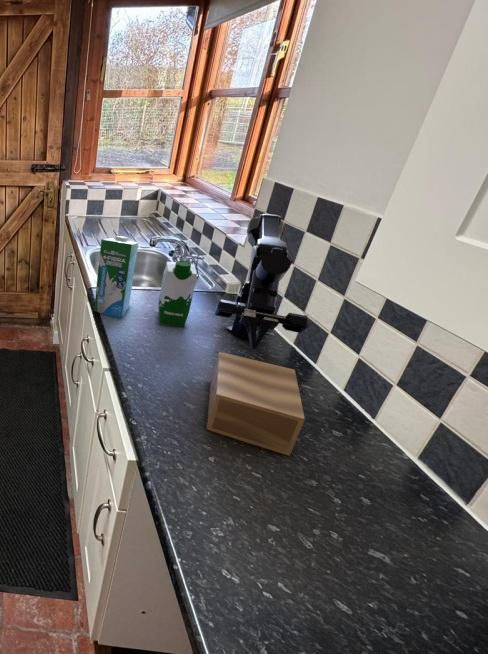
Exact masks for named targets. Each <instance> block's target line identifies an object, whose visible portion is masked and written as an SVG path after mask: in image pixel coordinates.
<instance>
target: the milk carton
mask: <svg viewBox="0 0 488 654" xmlns="http://www.w3.org/2000/svg"><path fill="white" fill-rule="evenodd" d="M129 239H130V238H129V237H128V236H123V235H115V238H114V237H108V238H102V239H100V248H99V259H98V267H97V278H96V287H95V295H94V298H95V299H94V304H93V306H94V307H93V312H94V313H95V312H96V313H99V314H104V315H108V316H111V317H114V318H119V319H122V318H123V317H124V315H125V313H126V312H127V310H128V309H129V307H130V303H131V296H132V289H133V282H134V275H135V269H136V262H137V261H136V260H137V255H138V254H137V253H138V247H139V241H138V242H136V241H132V240H129Z"/></svg>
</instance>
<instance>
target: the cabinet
mask: <svg viewBox="0 0 488 654" xmlns="http://www.w3.org/2000/svg"><path fill="white" fill-rule="evenodd" d="M305 418H306V417H305V414H304V409H303V403H302V398H301V394H300V389H299V384H298V379H297V374H296V370H295V369H293V368H290V367H285V366H282V365H281V366H280V365H276V364H273V363H268V362H264V361H260V360H256V359H252V358H247V357H244V356H243V357H242V356H239V355H235V354H230V353H226V352H222V351H219V352H218V356H217V359H216V362H215V367H214V369H213V374H212V377H211V381H210V388H209V401H208V410H207V423H206V430H207V431H210V432H213V433H216V434H218V435H219V434H220V435H223V436H226V437H229V438H232V439H236V440H238V441H242V442H244V443H248V444H252V445H254V446H258V447H259V448H264V449H267V450H270V451H273V452H275V453H278V454H282V455H285V456H287V457H288V456H289V457H290V456H291V453H292V451H293V450H294V446H295V444H296V441H297V439H298V437H299V434H300V432H301V429H302V427H303V424H304V422H305Z"/></svg>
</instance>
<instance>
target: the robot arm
mask: <svg viewBox="0 0 488 654" xmlns="http://www.w3.org/2000/svg"><path fill="white" fill-rule="evenodd" d="M283 228H284V221H283V220H282V216H281V215H278V214H270V213H263V214H259V216H255V217H252V218H250V220H249V222H248V225H247V229H246V234H248V235H247V242H248V243H249V245H250V246H251V248H252V249H251V253H250V262H249V269H248V275H247V282H245V283H244V285H243V286H242V287H241V289H240V291H239V294H236V296H235V298H234V299H233V301H231V300H226V299H219V300H218V302H217V303H216V306H215V309H214V316H217V317H222V318H227V319H228V318H230V317H232V316H233V315H234V319H233V323H232V325H230V326H227V327H226V330H227V331H230V332H232V333H233V334H235V335H236V336H239V337H240V338H242V339H244V340H249V344H250V349H251V350H255V351H256V350H257V348H258V347H259V345H260V344H261V342H262V341H263V338H264V337H265V336H266V334H267V333H268V331H269V330H270V331H273V330H275V328H277V327H278V326H279V324H280V325H281V327H282V328H283V330H284V331H289V332H294V333H299V334H301V333H303V332H304V331H305V330H307V329H308V328H309V327H310V318H309V317H308V316H307V315H304V314H299V313H295V312H288V313H287V314H286V315H280V314H275V312H276V311H275V310H276V305H277V304H276V303H277V298H278V293H279V292H278V291H279V285H280V282H281V280H282V279H283V278H284V277H285V275H287V272H288V271H289V270H290V268H291V266H292V264H293V262H294V261H293V260H294V259H293V257H292V255H291V252H290V250H288V245H287V243H286V242H285V241H284V240H282V239H281V235H282V233H283Z"/></svg>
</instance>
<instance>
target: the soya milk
mask: <svg viewBox="0 0 488 654" xmlns="http://www.w3.org/2000/svg"><path fill="white" fill-rule="evenodd" d="M162 276H163V277H162V281H161V286H160V290H159V298H158V320H159V324H160V325H166V326H173V327H180V328H185V326H186V324H187V323H186V322H187V320H188V316H189V313H190V311H191V310H190V309H191V305H192V301H193V296H194V292H195V287H196V281H197V276H198V272H197V269H196V266H195V264H194V263H190V262H189V261H184V260H178V261H166V264H165V268H164V270H163V274H162Z"/></svg>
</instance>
